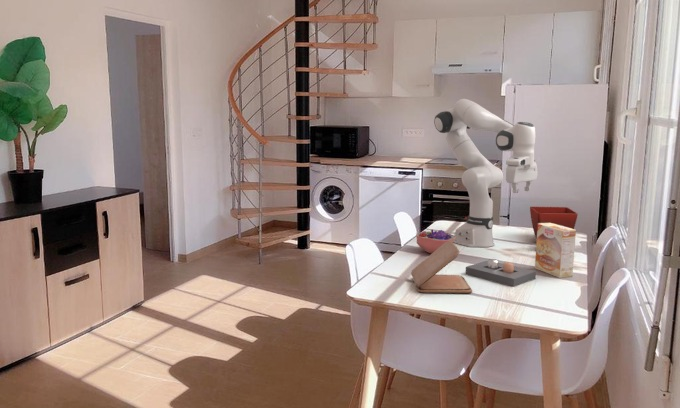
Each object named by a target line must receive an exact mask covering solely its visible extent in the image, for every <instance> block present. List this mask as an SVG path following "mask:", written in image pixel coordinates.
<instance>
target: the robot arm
mask: <svg viewBox="0 0 680 408" xmlns="http://www.w3.org/2000/svg"><path fill="white" fill-rule="evenodd" d="M433 123H434V127H435V129H436V130H437V131H438V132H439V133H442V134H446V135H445V139H446V140H445V141H446V143H447V144H448V147H449V148H450V150H451V152H452V154H453V155H454V157H455V158H456V160H457V161H458V163H459V164H460V166H462V167H463V168H465V169H466V170H465V171H463V173H462V175H461V182H462V185H463V187H465V189H466V191H467V193H468V197H469V198H468V199H469V215H467V216H465V217H464V220H466V221H465V222H464V223H463V224H461V225H460V226H459V227H457V228H456V229H455V232H454V236H456V237H455V239H454V242H453V244H454V243H455V244H459V245H462V246H465V247H469V248H472V247H473V248H474V247H476V248H487V247H488V248H489V247H494V246H495V242H494V236H493V226H494V216H493V211H494V210H493V209H494V208H493V207H494V201H493V199H492V198H491V197H490V195H489V189H491V188H495V187H497V186H498V185H500V184H502V182H503V181H504V174H503V171H502V169H501V168H500V167H498V166H495V165H494V164H493V163H491V161H490V160H488V159H487V158H486V157H485V156H484V155H483V154H482V153H481V152H480V150H479V149H478V148H477V146H476V145H475V143H474V141H472V139H471V136H469V135H468V133H467V129H468V130H469V129H472V130H475V131H480V132H481V131H482V132H483V131H484V132H494V133H497V134H496V137H495V146H496V147H497V149H498V150H499V151H502V152H512V155H511V156H510V157H509V158H507V160H506V161H505V164H506V168H505V169H506V170H505V180H506V181H505V182H506V183H508V184H511V188H512V193H513V194H518V193H519V188H518V183H526V184H525V186H524V191H525V192H530V190H531V186H532V184H533V181H537V179H538V174H539V173H538V171H539V170H538V164H537V161H536V159H535V146H536V135H537V134H536V127H535V125H534V124H532V123H531V122H527V121H526V122H525V121H518V122H515V124H513V123H510V122H509V121H507V120H505V119H503V118H501V117H500V116H498V115H496V114H494V113H493V112H491V111H489V110H488V109H487V108H484V107H483V106H482V105H480V104H478V103H477V102H475V101H473V100H470V99H467V98H461V99H458V100H457V101H456V102H455V103H454V105H453V107H451V108H448V109H447V110H444V111H441V112H439V113H437V114H436V115H435V116H434V120H433Z"/></svg>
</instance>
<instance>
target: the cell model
mask: <svg viewBox="0 0 680 408" xmlns="http://www.w3.org/2000/svg"><path fill="white" fill-rule="evenodd" d="M415 235H416V244H417V245H418V247H419V248H420V249H421V250H422V251H425V252H427V253H429V254H432V253H433V252H434V251H436V250H437V249H438V248H439V247H440V246H442V245H443V244H444V243H445V242H447V241H451V242H452V243H453V244H454V239H455V237H456V236H454V235H455V234H454V235H453V234H452V233H449V232H446V231H445V230H442V229H439V230H438V231H434V229H431V230H430V231H426V230H424V231H421V232H417V233H415Z"/></svg>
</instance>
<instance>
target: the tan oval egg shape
mask: <svg viewBox="0 0 680 408" xmlns="http://www.w3.org/2000/svg"><path fill="white" fill-rule="evenodd" d="M502 264H503V272H506V273H510V274H511V273H514V266H515V263H514V262H509V261H508V262H507V261H505V262H503V263H502Z"/></svg>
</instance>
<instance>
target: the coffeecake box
mask: <svg viewBox="0 0 680 408" xmlns="http://www.w3.org/2000/svg"><path fill="white" fill-rule="evenodd" d="M576 233H577V230H576V229H575V228H574V229H571V228H568V227H564V226H561V225H557V224H553V223H538V227H537V239H536V241H535V242H536V243H535V244H536V246H535V257H534V258H535V259H534V269H536V270H538V271H541V272H544V273H546V274H548V275H551V276H554V277H556V278H560V279H561V278H569V277H573V273H574V261H575V246H576V244H575V243H576Z"/></svg>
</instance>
